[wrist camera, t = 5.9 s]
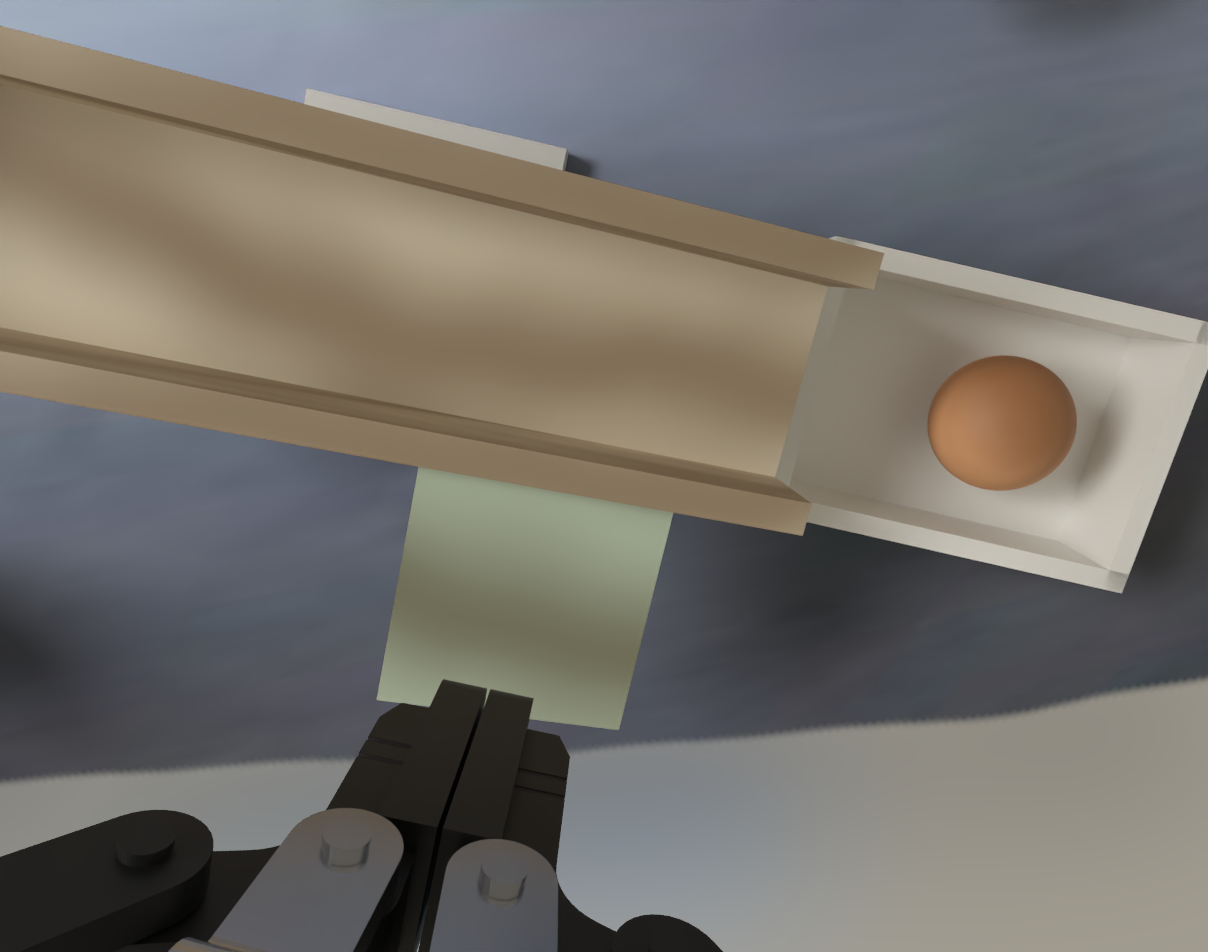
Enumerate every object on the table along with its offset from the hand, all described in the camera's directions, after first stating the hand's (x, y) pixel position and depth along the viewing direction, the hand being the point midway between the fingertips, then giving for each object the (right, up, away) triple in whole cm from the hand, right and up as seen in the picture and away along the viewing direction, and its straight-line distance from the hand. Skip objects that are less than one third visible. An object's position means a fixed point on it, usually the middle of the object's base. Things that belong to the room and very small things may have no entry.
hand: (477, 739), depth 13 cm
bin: (+13, +7, +14) cm, 20 cm away
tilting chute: (-6, +7, +9) cm, 13 cm away
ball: (+14, +6, +11) cm, 19 cm away
